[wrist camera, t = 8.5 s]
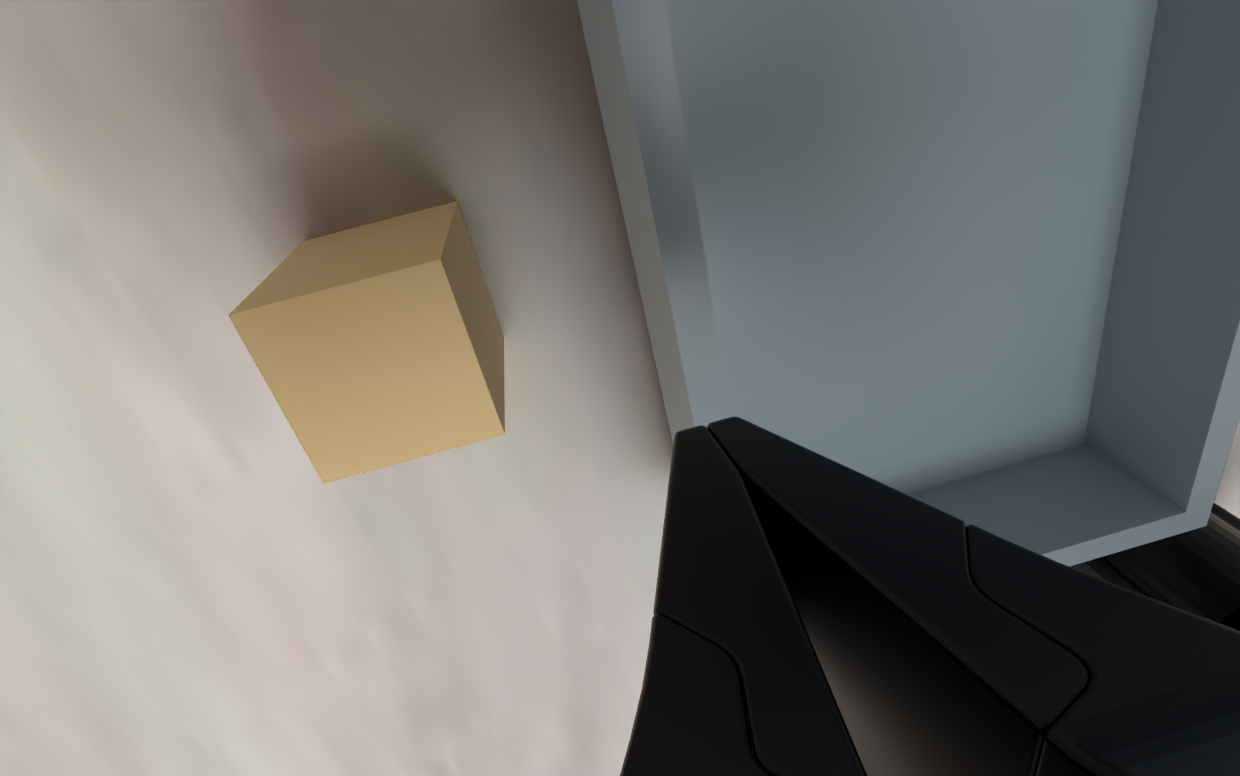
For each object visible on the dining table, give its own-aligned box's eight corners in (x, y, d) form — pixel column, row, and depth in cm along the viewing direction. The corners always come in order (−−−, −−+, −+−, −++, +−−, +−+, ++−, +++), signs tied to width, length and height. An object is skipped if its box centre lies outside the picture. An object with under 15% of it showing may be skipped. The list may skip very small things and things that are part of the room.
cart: (1110, -321, 14) (1545, -586, 8) (1028, 406, 24) (1206, 525, 18) (524, -180, 14) (541, -357, 8) (678, 506, 23) (740, 664, 17)
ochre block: (457, 200, 19) (440, 259, 13) (503, 337, 21) (504, 433, 16) (305, 239, 19) (228, 315, 13) (368, 374, 21) (323, 483, 15)
